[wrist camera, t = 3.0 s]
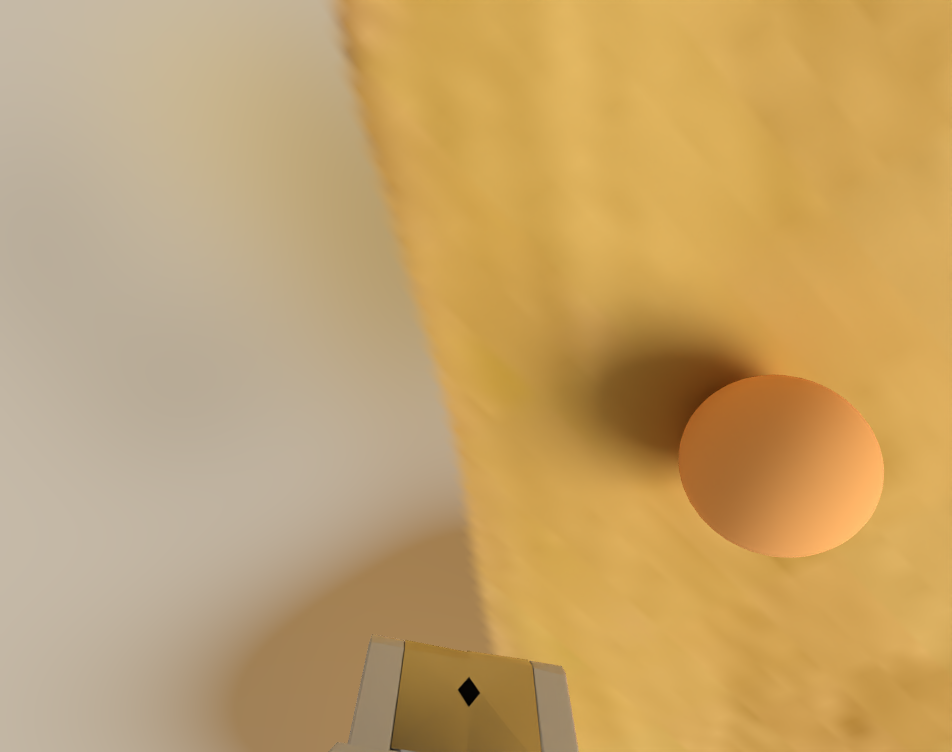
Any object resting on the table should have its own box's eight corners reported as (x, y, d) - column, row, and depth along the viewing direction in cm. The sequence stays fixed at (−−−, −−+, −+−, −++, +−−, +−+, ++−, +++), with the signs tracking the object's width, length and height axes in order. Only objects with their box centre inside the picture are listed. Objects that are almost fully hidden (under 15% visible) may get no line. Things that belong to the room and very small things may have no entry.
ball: (692, 332, 18) (772, 411, 13) (846, 367, 19) (978, 456, 14) (635, 468, 20) (685, 580, 15) (773, 496, 21) (865, 614, 16)
